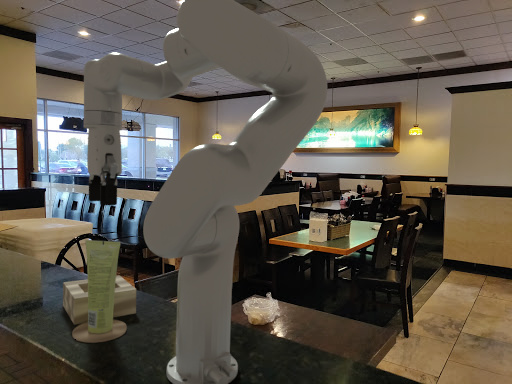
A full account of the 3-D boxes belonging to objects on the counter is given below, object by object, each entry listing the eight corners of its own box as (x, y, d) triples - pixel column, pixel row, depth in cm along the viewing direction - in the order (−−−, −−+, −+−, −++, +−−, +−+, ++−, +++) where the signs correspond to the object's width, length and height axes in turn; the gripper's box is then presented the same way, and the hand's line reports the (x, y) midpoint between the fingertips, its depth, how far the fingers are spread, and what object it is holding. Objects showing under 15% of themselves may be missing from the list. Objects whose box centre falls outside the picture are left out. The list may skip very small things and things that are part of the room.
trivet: (133, 335, 83) (133, 332, 83) (78, 347, 77) (78, 344, 77) (118, 318, 92) (118, 315, 92) (67, 327, 86) (67, 325, 86)
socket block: (135, 313, 96) (136, 289, 95) (74, 324, 87) (74, 298, 87) (119, 296, 107) (119, 275, 107) (63, 305, 99) (63, 282, 98)
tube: (110, 322, 88) (111, 237, 87) (119, 330, 84) (120, 241, 83) (84, 328, 84) (85, 239, 83) (92, 337, 81) (93, 243, 79)
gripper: (134, 120, 77) (133, 206, 78) (110, 126, 91) (109, 199, 92) (94, 116, 73) (93, 207, 74) (75, 123, 87) (74, 199, 88)
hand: (102, 202), depth 83 cm, fingers open, 9 cm apart
